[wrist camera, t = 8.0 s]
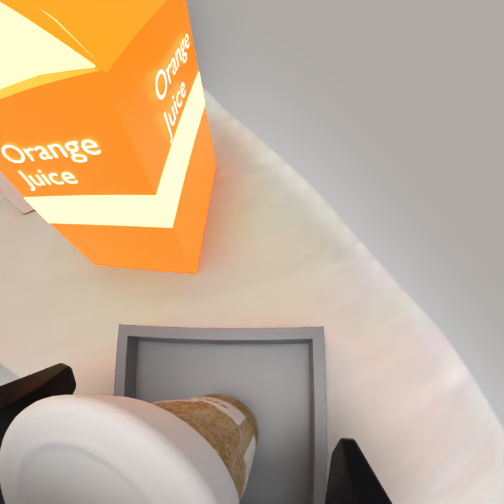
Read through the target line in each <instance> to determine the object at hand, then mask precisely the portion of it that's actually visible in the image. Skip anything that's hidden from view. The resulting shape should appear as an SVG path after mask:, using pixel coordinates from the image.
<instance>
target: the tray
mask: <svg viewBox="0 0 504 504" xmlns="http://www.w3.org/2000/svg"><path fill="white" fill-rule="evenodd" d="M207 394H221V395H226V396H230V397H233V398H235V399H237V400H238V401H240V402H241V403H242V404H244V405H245V406H246V407H247V408H248V409H249V410H250V411H251V412H252V414H253V415H254V417H255V419H256V421H257V424H258V429H259V436H258V445H257V447H256V450H255V454H254V458H253V462H252V466H251V470H250V474H249V477H248V481H247V484H246V488H245V491H244V493H243V495H242V497H241V498H240V500H239V504H325V494H326V454H327V412H326V369H325V345H324V327H300V328H180V327H155V326H136V325H121V324H119V330H118V341H117V353H116V368H115V387H114V396H124V397H129V398H133V399H138V400H142V401H145V402H148V403H153V402H159V401H166V400H177V399H186V398H193V397H201V396H204V395H207Z"/></svg>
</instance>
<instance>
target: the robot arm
mask: <svg viewBox="0 0 504 504" xmlns="http://www.w3.org/2000/svg"><path fill="white" fill-rule="evenodd" d="M75 388H76V382H75V378H74V375H73V371H72V369H71V367H70V366H67V365H65V364H63V363H59V364H57V365H54V366H51V367H49V368H46V369H44V370H41V371H39V372H36V373H33V374H31V375H28V376H26V377H23V378H20V379H18V380H15V381H13V382H10V383H7V384H5V385H2V386H0V449H1V445H2V441H3V438H4V435H5V433H6V431H7V429H8V428H9V426H10V424H11V423H12V421H13V420H14V419H15V417H16V416H17V415H18V414H19V413H21V412H22V411H23V410H24V409H25V408H27V407H28V406H30V405H31V404H33V403H35V402H36V401H39V400H41V399H44V398H48V397H51V396H59V395H72V394H73V392H74V390H75ZM0 504H5V501H4V498H3V495H2V490H1V485H0ZM325 504H392V502H391V501H390V499H389V497H388V496H387V494H386V492H385V491H384V489H383V487H382V485H381V484H380V482H379V480H378V479H377V477H376V475H375V473H374V472H373V470H372V468H371V467H370V465H369V463H368V462H367V460H366V458H365V456H364V455H363V453H362V451H361V450H360V448H359V446H358V444H357V443H356V441H355V440H354V439H351V438H341V439H340V440H339V442H338V444H337V446H336V448H335V449H334V451H333V453H332V457H331V464H330V472H329V479H328V486H327V492H326V502H325Z"/></svg>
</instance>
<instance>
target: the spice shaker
mask: <svg viewBox="0 0 504 504" xmlns="http://www.w3.org/2000/svg"><path fill="white" fill-rule="evenodd" d="M258 436H259V429H258V424H257V421H256V419H255V417H254V415H253V414H252V412H251V411H250V410H249V409H248V408H247V407H246V406H245V405H244V404H242V403H241V402H240V401H238V400H237V399H235V398H233V397H230V396H226V395H221V394H207V395H204V396H201V397H193V398H186V399H177V400H166V401H159V402H153V403H148V402H145V401H142V400H138V399H133V398H129V397H124V396H110V395H59V396H51V397H48V398H44V399H41V400H39V401H36V402H35V403H33V404H31V405H30V406H28V407H27V408H25V409H24V410H23V411H22V412H21V413H19V414H18V415H17V416H16V417H15V419H14V420H13V421H12V423H11V424H10V426H9V428H8V429H7V431H6V433H5V435H4V438H3V441H2V445H1V449H0V485H1V490H2V495H3V498H4V501H5V504H239V500H240V498H241V497H242V495H243V493H244V491H245V488H246V484H247V481H248V477H249V474H250V470H251V466H252V462H253V458H254V454H255V450H256V447H257V445H258Z"/></svg>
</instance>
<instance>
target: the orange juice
mask: <svg viewBox="0 0 504 504" xmlns="http://www.w3.org/2000/svg"><path fill="white" fill-rule="evenodd" d="M215 169H216V162H215V156H214V151H213V146H212V141H211V136H210V131H209V126H208V120H207V115H206V110H205V100H204V95H203V89H202V85H201V78H200V73H199V71H198V67H197V61H196V56H195V51H194V45H193V39H192V34H191V28H190V22H189V16H188V11H187V5H186V0H0V171H1V172H2V174H3V175H4V176H5V177H6V178H7V179H8V180H9V181H10V182H11V183H12V185H13V186H14V187H15V188H16V189H17V190H18V191H19V192H20V193H21V194H22V195H23V196H24V199H25V200H26V201H27V202H28V203H29V204H30V205H31V206H32V207H33V208H34V209H35V210H36V211H37V212H38V213H39V214H40V215H41V216H42V217H43V218H44V219H45V220H46V221H47V222H48V223H50V224H51V225H52V226H54V227H55V228H56V229H57V230H58V231H59V232H60V233H61V234H62V235H63V236H64V237H65V238H66V239H67V240H68V241H69V242H70V243H71V244H73V245H74V246H75V247H76V248H77V249H78V250H79V251H80V252H81V253H82V254H84V255H85V256H86V257H87V258H88V259H89V260H90V261H91V262H92V263H94V264H95V265H102V266H112V267H122V268H133V269H144V270H155V271H167V272H178V273H191V274H197V270H198V263H199V257H200V251H201V245H202V239H203V234H204V228H205V222H206V217H207V211H208V206H209V200H210V195H211V190H212V184H213V179H214V174H215Z"/></svg>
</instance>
